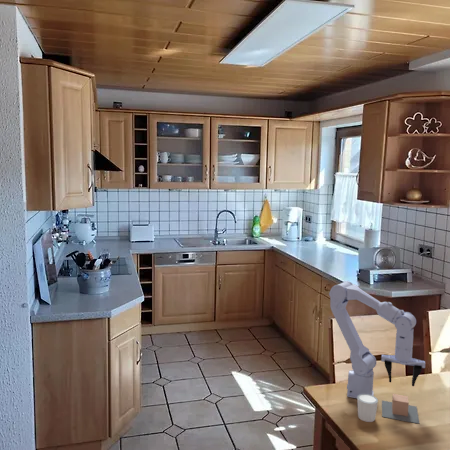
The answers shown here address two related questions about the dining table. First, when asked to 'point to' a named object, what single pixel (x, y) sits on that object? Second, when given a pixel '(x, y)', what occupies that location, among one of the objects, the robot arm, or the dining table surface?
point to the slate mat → (410, 418)
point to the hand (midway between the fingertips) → (401, 383)
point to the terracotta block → (400, 405)
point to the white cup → (367, 407)
